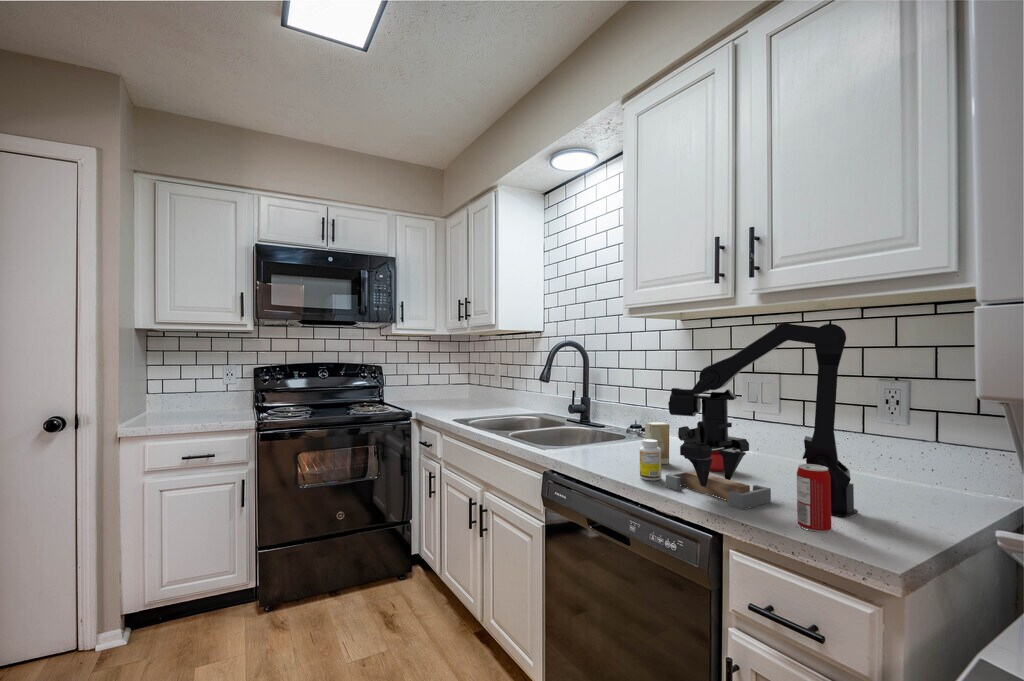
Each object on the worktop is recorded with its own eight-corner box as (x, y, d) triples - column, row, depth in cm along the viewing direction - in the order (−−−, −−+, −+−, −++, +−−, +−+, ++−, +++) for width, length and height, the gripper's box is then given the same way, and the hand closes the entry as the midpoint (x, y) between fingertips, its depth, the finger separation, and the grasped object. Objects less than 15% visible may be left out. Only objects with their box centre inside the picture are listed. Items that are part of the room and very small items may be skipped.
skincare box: (651, 465, 148) (650, 424, 148) (644, 462, 152) (643, 422, 153) (670, 464, 150) (670, 423, 150) (662, 461, 154) (662, 421, 154)
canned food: (731, 472, 139) (731, 433, 139) (701, 471, 140) (701, 432, 141) (725, 466, 146) (724, 429, 146) (697, 465, 148) (696, 428, 148)
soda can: (836, 529, 94) (835, 466, 94) (823, 535, 91) (822, 470, 91) (805, 521, 99) (804, 460, 99) (792, 527, 95) (791, 464, 96)
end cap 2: (770, 501, 111) (770, 488, 112) (743, 509, 106) (742, 495, 106) (756, 497, 114) (756, 484, 115) (728, 505, 109) (728, 491, 109)
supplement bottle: (646, 475, 136) (646, 437, 137) (665, 478, 132) (664, 440, 132) (635, 478, 132) (635, 440, 133) (654, 482, 128) (653, 443, 129)
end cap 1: (665, 487, 124) (665, 475, 124) (693, 481, 129) (692, 469, 129) (677, 490, 121) (677, 478, 121) (704, 484, 126) (704, 472, 126)
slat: (750, 503, 111) (749, 485, 111) (739, 505, 110) (739, 487, 110) (694, 486, 126) (694, 470, 126) (684, 488, 124) (684, 472, 124)
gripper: (710, 412, 130) (711, 471, 129) (661, 417, 120) (662, 481, 120) (750, 416, 120) (751, 480, 120) (700, 422, 111) (701, 492, 110)
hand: (715, 483), depth 118 cm, fingers open, 9 cm apart
